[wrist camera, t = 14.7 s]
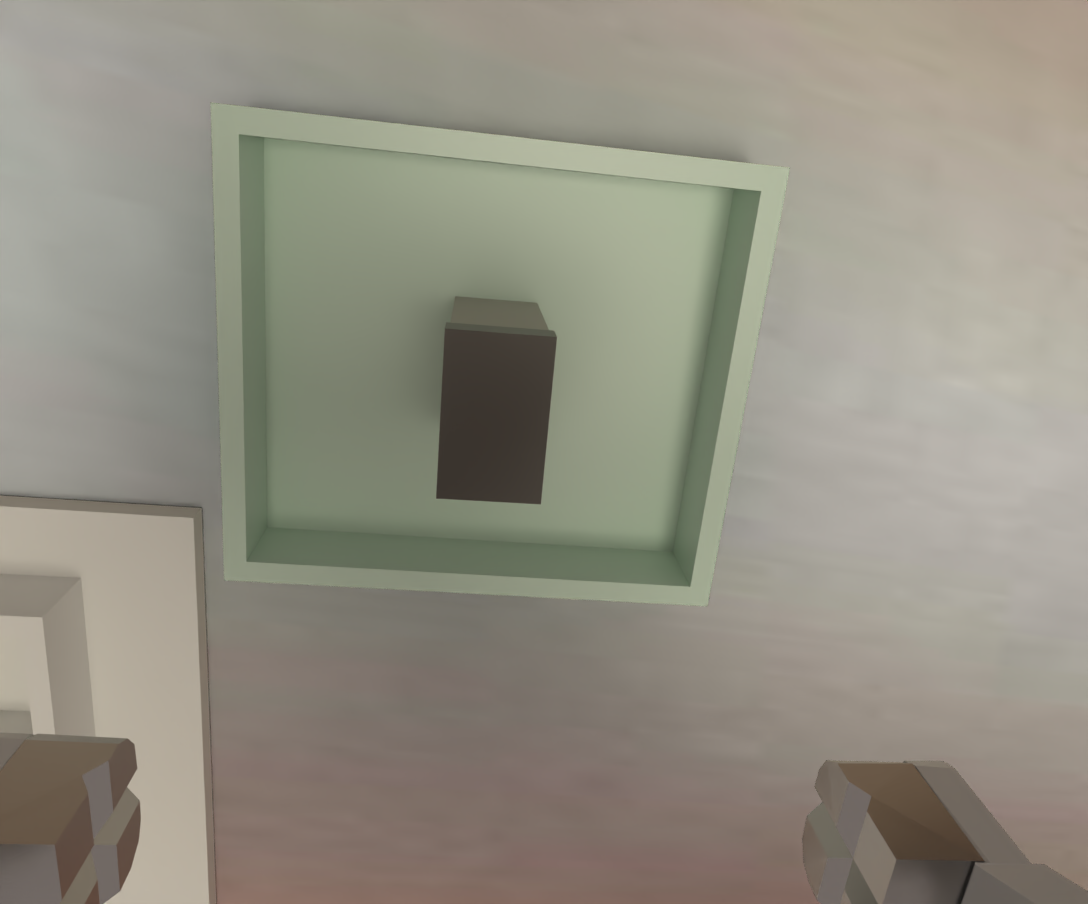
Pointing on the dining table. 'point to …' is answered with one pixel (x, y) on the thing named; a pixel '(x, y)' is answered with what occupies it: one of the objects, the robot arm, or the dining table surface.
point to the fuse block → (117, 664)
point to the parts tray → (418, 345)
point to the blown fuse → (495, 401)
